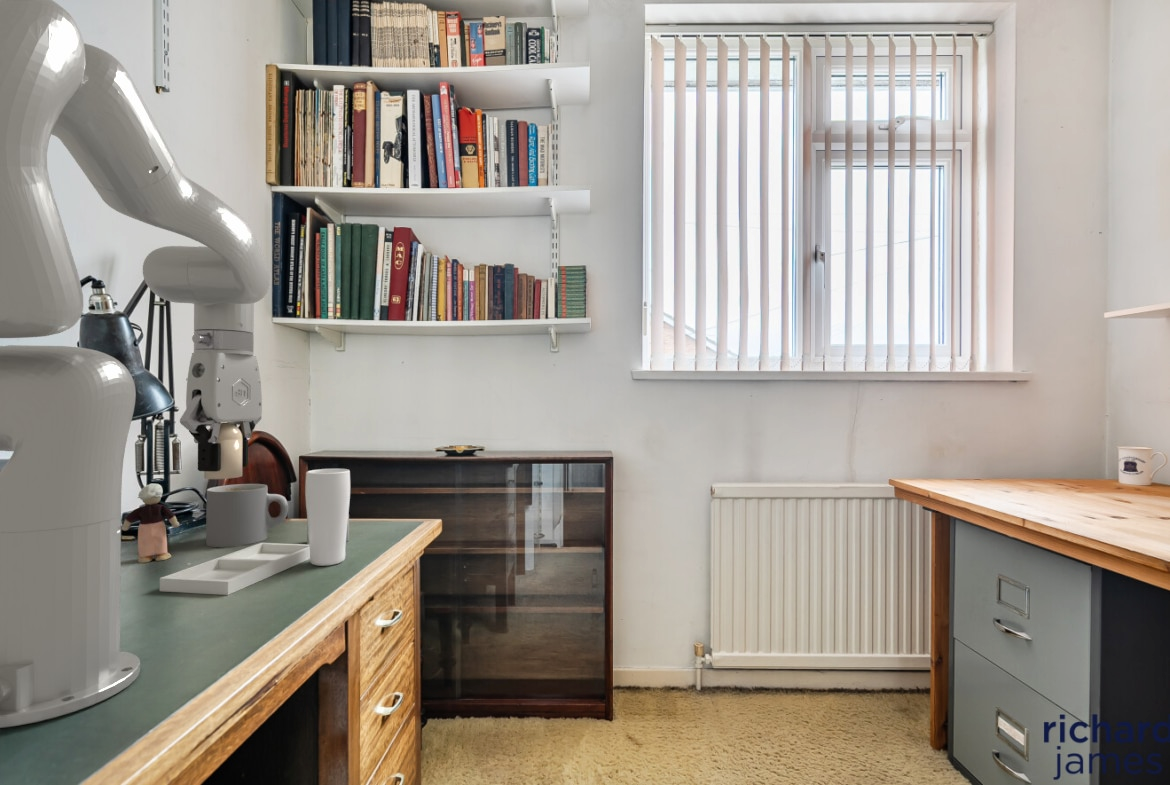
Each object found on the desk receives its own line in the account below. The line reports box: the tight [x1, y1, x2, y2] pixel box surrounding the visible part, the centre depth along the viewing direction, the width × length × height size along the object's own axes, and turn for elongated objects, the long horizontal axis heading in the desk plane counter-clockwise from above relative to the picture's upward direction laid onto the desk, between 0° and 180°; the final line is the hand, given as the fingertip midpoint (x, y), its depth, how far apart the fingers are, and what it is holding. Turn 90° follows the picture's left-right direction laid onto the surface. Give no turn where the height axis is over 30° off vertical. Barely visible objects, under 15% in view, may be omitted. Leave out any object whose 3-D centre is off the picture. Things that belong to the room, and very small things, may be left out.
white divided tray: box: [159, 542, 310, 596], centre depth 91 cm, size 20×11×2 cm, turn 172°
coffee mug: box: [205, 483, 289, 548], centre depth 112 cm, size 13×10×10 cm
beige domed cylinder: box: [203, 422, 243, 480], centre depth 86 cm, size 5×5×8 cm
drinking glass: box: [304, 468, 351, 567], centre depth 96 cm, size 7×7×15 cm
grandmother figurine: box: [121, 483, 180, 564], centre depth 98 cm, size 8×4×13 cm, turn 130°
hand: (223, 467), depth 86 cm, fingers closed on beige domed cylinder, 4 cm apart
